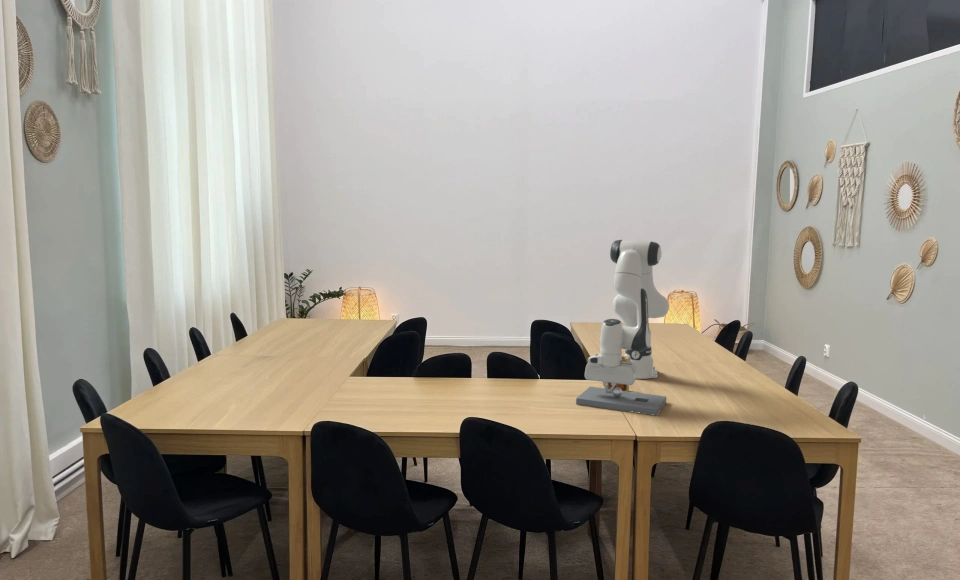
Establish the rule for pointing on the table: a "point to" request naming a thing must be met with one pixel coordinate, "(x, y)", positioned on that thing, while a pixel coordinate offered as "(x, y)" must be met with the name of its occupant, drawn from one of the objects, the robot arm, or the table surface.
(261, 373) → the table surface
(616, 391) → the steel ball
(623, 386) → the candy box
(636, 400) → the board
